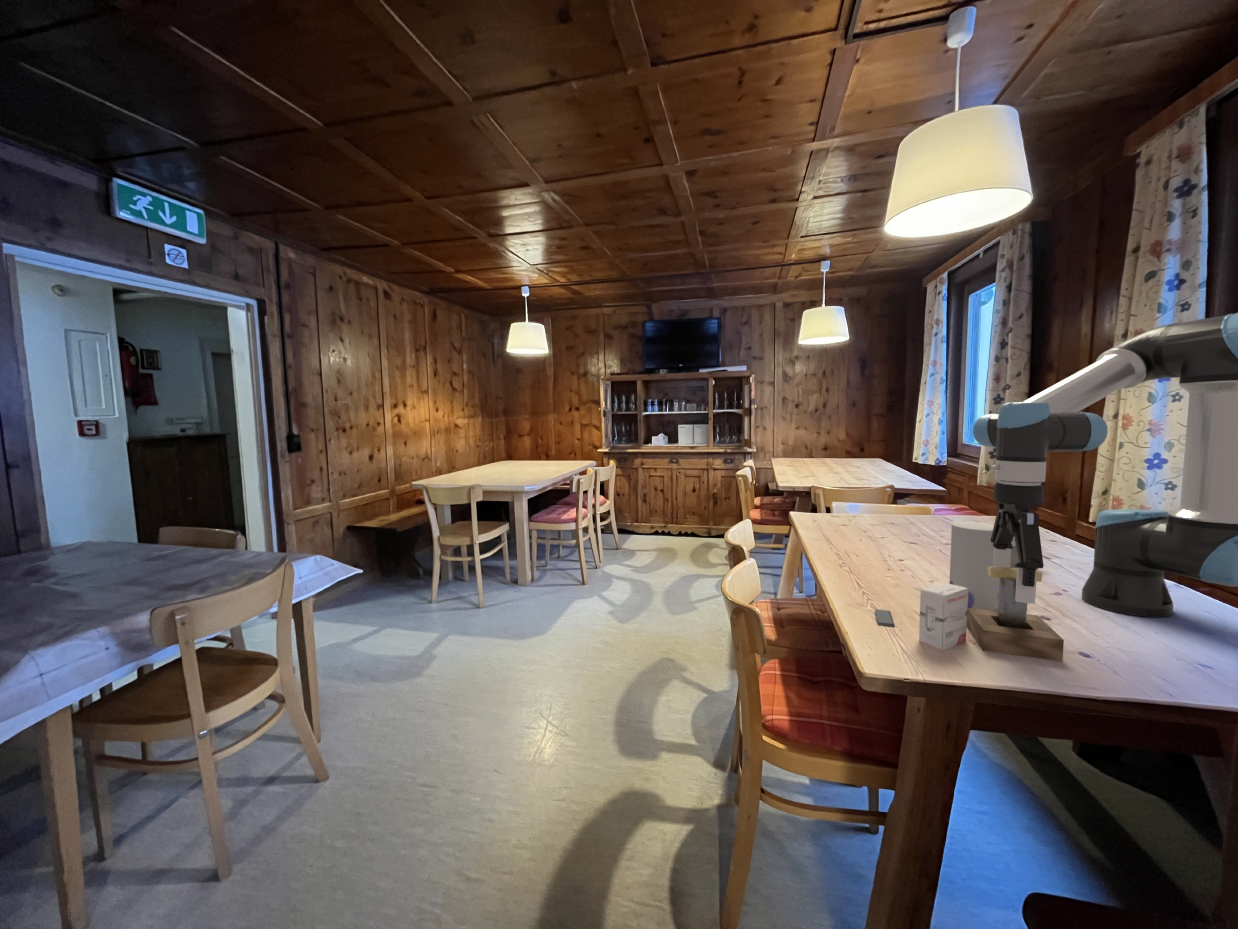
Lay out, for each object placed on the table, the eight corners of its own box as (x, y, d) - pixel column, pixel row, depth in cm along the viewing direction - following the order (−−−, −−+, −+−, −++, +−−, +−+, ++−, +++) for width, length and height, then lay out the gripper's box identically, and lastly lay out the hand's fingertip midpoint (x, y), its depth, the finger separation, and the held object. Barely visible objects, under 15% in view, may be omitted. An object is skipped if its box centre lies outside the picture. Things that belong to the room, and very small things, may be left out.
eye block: (1036, 639, 100) (1037, 615, 100) (1062, 666, 89) (1063, 640, 89) (966, 630, 105) (967, 607, 105) (982, 655, 94) (983, 630, 94)
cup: (1039, 570, 144) (1041, 542, 143) (1021, 575, 140) (1022, 546, 139) (1009, 564, 151) (1011, 536, 150) (991, 568, 147) (992, 540, 146)
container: (1009, 616, 112) (1013, 530, 110) (960, 613, 114) (963, 529, 112) (986, 600, 122) (989, 521, 120) (941, 598, 124) (944, 520, 122)
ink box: (942, 636, 103) (944, 580, 102) (967, 645, 99) (970, 587, 98) (917, 645, 99) (919, 588, 98) (942, 655, 95) (945, 595, 94)
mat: (913, 616, 113) (914, 613, 113) (920, 630, 106) (920, 627, 106) (874, 611, 116) (875, 609, 116) (878, 624, 109) (878, 622, 109)
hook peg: (1031, 640, 98) (1035, 568, 96) (1040, 650, 94) (1044, 574, 92) (982, 634, 101) (986, 564, 99) (989, 643, 97) (992, 570, 95)
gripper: (976, 475, 107) (971, 570, 109) (1017, 490, 84) (1010, 610, 86) (1019, 476, 104) (1013, 574, 106) (1073, 492, 82) (1064, 616, 83)
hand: (1011, 590), depth 96 cm, fingers open, 13 cm apart
